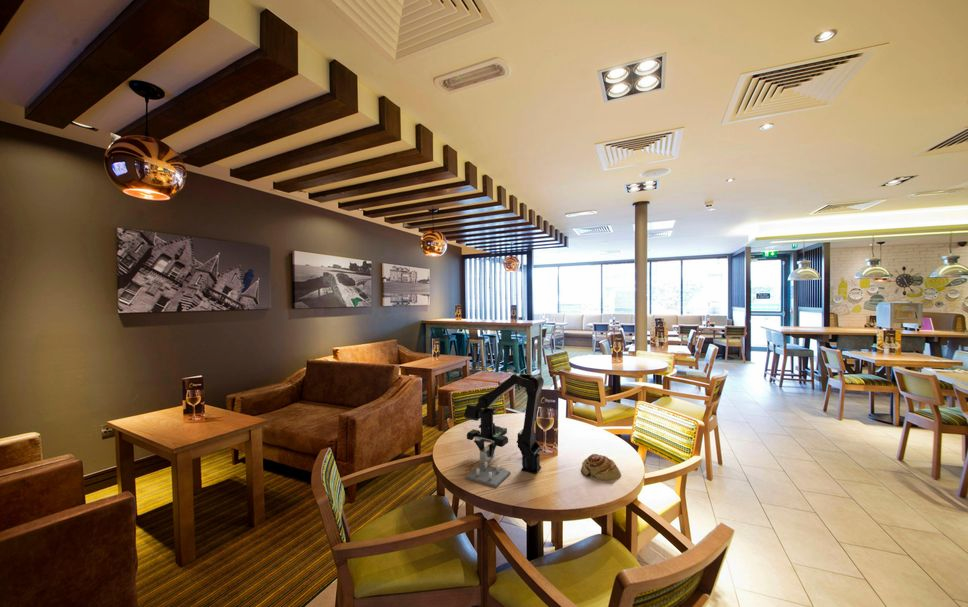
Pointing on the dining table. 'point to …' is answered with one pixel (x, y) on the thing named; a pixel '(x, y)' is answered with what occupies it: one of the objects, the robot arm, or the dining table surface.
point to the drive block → (485, 454)
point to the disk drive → (500, 432)
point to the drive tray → (488, 475)
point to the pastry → (600, 467)
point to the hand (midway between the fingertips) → (487, 456)
